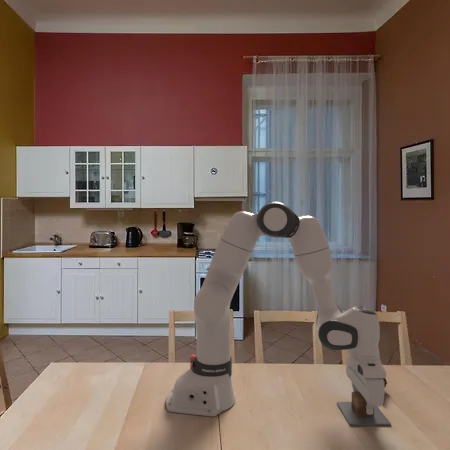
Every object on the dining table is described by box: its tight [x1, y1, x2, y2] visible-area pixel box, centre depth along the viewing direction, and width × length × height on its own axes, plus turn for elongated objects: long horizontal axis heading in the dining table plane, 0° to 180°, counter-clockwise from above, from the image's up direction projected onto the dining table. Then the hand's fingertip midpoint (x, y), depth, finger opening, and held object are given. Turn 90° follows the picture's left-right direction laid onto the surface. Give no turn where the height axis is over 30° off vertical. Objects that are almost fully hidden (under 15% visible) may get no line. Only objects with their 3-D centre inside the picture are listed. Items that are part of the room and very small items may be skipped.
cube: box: [351, 391, 374, 417], centre depth 109 cm, size 5×5×5 cm
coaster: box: [336, 401, 392, 427], centre depth 109 cm, size 12×12×1 cm
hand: (362, 404), depth 109 cm, fingers open, 8 cm apart
